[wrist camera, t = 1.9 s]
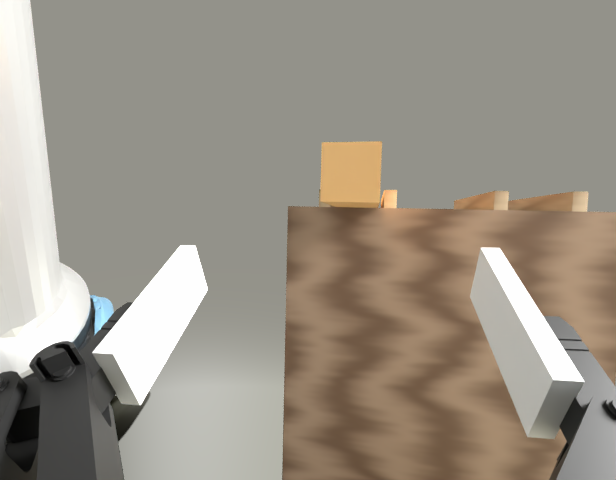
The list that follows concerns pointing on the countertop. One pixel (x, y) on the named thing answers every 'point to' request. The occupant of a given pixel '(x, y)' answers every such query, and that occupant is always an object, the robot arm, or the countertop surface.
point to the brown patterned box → (428, 333)
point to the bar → (351, 174)
